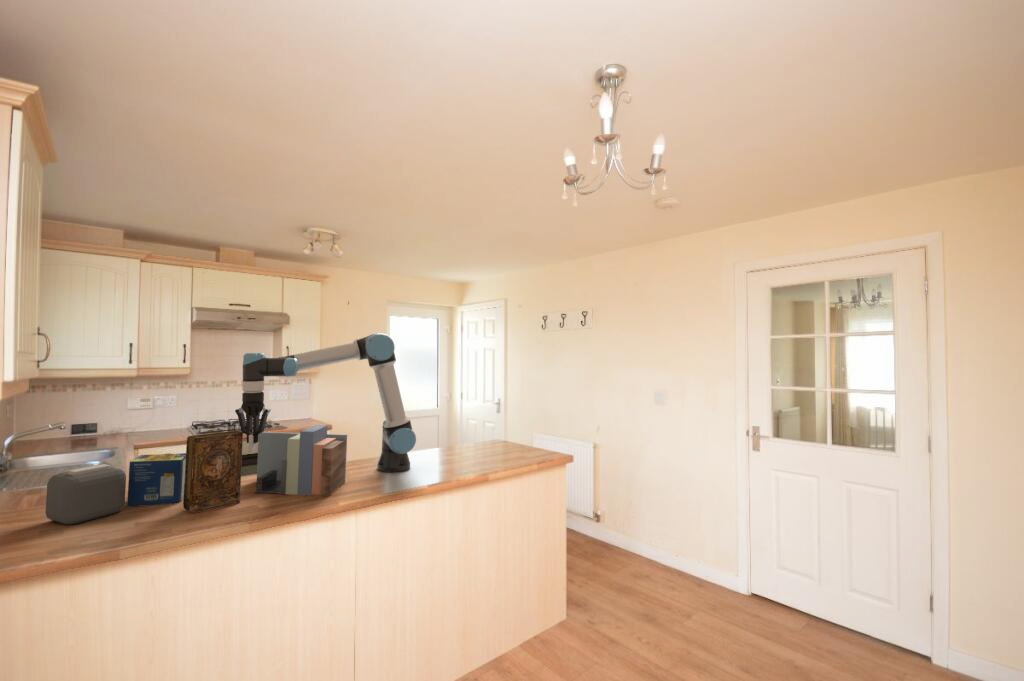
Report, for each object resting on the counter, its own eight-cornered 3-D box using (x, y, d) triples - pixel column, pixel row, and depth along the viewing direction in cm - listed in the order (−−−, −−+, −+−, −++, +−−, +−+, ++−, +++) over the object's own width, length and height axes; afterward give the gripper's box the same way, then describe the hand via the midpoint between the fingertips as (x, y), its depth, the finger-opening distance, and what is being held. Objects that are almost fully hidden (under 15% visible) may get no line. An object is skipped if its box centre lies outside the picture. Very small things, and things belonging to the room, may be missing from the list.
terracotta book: (334, 484, 192) (336, 438, 193) (321, 494, 178) (323, 444, 179) (324, 484, 192) (326, 437, 192) (311, 494, 178) (313, 444, 179)
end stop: (344, 483, 194) (345, 439, 194) (329, 496, 177) (331, 448, 177) (335, 483, 194) (337, 439, 194) (320, 495, 177) (322, 448, 177)
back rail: (345, 482, 195) (347, 434, 196) (344, 482, 194) (346, 434, 195) (258, 480, 194) (260, 432, 195) (256, 481, 193) (258, 432, 193)
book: (235, 499, 170) (238, 430, 170) (242, 502, 166) (245, 432, 167) (182, 510, 157) (186, 436, 157) (189, 514, 153) (192, 438, 154)
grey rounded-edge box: (107, 506, 158) (109, 460, 158) (128, 512, 154) (130, 464, 154) (44, 522, 143) (47, 471, 143) (66, 528, 139) (69, 476, 139)
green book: (312, 483, 192) (314, 432, 193) (297, 494, 177) (299, 439, 178) (301, 483, 192) (303, 432, 193) (285, 494, 177) (287, 439, 178)
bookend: (302, 482, 193) (303, 450, 193) (284, 494, 177) (286, 459, 177) (273, 481, 192) (275, 449, 193) (253, 493, 176) (255, 458, 177)
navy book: (324, 483, 193) (327, 425, 193) (310, 494, 178) (313, 431, 178) (312, 483, 192) (315, 425, 193) (297, 494, 177) (300, 431, 178)
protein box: (138, 497, 168) (140, 454, 168) (188, 494, 173) (190, 452, 174) (125, 507, 158) (128, 461, 158) (179, 503, 164) (181, 459, 164)
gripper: (274, 390, 189) (273, 449, 189) (241, 390, 188) (240, 449, 188) (265, 392, 181) (264, 453, 181) (231, 392, 181) (230, 453, 181)
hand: (252, 451), depth 185 cm, fingers closed
